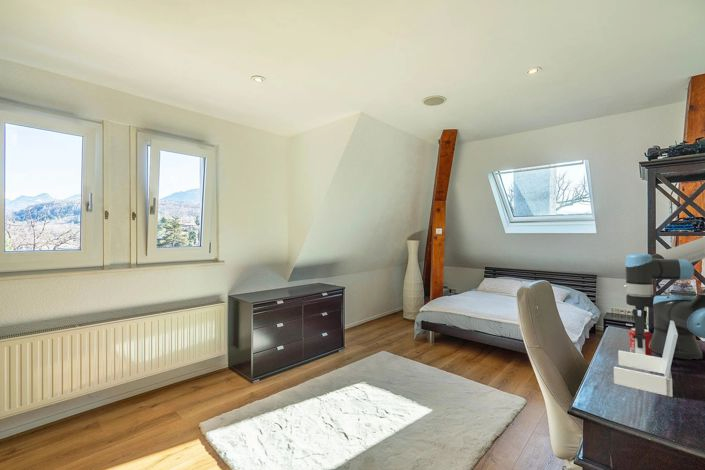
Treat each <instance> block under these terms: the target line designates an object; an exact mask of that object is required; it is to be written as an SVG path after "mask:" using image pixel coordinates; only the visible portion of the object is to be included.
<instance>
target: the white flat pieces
mask: <svg viewBox="0 0 705 470" xmlns="http://www.w3.org/2000/svg"><path fill="white" fill-rule="evenodd" d="M617 352H618V353H617V355H618V359H617V360H618V365H619V366H623V367H629V368H632V369H627V368H623V367H618V366H613V384H615V385H619V386H624V387H628V388H632V389H637V390H642V391H645V392H650V393H653V394H656V395H657V394H659V395H663V396H666V397H672V398H673V378H672V371H671V369H670V372H669V376H668V377H665V376H664V368H663V359H662V357H659V356H653V355H652V356H649V355H643V354H637V353H632V352H630V351H625V350H620V349H619V350H618V351H617ZM633 369H637V370H638V371H637V370H633ZM639 370H643V371H647V372H648V371H649V372H652V373H649V372H648V373H647V372H643V371H639ZM653 372H654V373H659V374H663V375H657V374H653Z"/></svg>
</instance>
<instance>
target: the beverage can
mask: <svg viewBox="0 0 705 470" xmlns="http://www.w3.org/2000/svg"><path fill="white" fill-rule="evenodd" d="M633 335H634V336H635V327H631V329H630V330H629V332H628V341H629V342H628V343H629V348H628V349H629V351H628V352H632V353H635V338H633ZM652 335H653V334H651V332H650V330H649V329H647V330H646V329H644V336H645V355H649V356H653V351H652Z"/></svg>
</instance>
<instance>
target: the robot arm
mask: <svg viewBox="0 0 705 470" xmlns="http://www.w3.org/2000/svg"><path fill="white" fill-rule="evenodd" d="M704 259H705V236H703V237H700V238H697V239H695V240H691V241H688V242H686V243H683V244H680V245H676V246H674V247H671V248H668V249H665V250H663V251H659V252H657V253H654V254H649V253H628V254H627V255H626V256H625V262H624V267H625V282H626V283H625V285H623V287H624V289H625V291H626V295H625V299H626V301H625V302H626V304H627V305H629V306H633V307H635V309H634V308H633V309H632V316H633V322H634V328H635V336H634V335H633V338H635V353H637V354H643V355H645V336H644V329H646V330H648V328H647V327H646V325H645V323H647V317H648V312H647V311H648V310H645V308H652V307H653V328H654V329H653V333H652V334H651V335H652V353H656V354H658V355H663V351H664V347H665V342H666V338H667V333H668V329H669V325H670V320H671V321H674V324H675V327H676V330H677V334H678V337H677V341H676V346H675V350H674V354H673V358H675V359H681V360H682V359H683V360H692V359H696V360H702V359H703V351H702V349H700V345H699V343H698V340H697V338H696V337H699V338H700V339H701V338H702V339H705V293H698V294H697V295H696V296H694V297H692V296H688V295H685V296H684V295H683V296H682V295H655V296H654V297H653V295H654V285H653V284H654V283H653V282H654V280H667V281H668V280H669V281H671V280H672V281H680V280H681V281H683V280H684V281H685V280H686V281H687V280H690V279H691V278H693V276H694V274H695V270H694V269H695V268H694V265H693V264H692V263H694V262H698V261H701V260H704Z"/></svg>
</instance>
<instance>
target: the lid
mask: <svg viewBox="0 0 705 470" xmlns="http://www.w3.org/2000/svg"><path fill="white" fill-rule="evenodd" d="M677 337H678V334H677V330H676V327H675V324H674V321H671V320H670V325H669V329H668V333H667V338H666V342H665V347H664V351H663V355H662V357H661V358H662V359H663V368H664V374H663V377H668V376H669V372H670V370H671V366H672V362H673V358H674V357H673V354H674V350H675V346H676V341H677Z"/></svg>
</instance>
